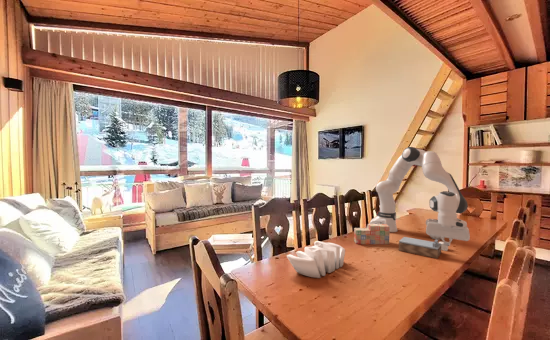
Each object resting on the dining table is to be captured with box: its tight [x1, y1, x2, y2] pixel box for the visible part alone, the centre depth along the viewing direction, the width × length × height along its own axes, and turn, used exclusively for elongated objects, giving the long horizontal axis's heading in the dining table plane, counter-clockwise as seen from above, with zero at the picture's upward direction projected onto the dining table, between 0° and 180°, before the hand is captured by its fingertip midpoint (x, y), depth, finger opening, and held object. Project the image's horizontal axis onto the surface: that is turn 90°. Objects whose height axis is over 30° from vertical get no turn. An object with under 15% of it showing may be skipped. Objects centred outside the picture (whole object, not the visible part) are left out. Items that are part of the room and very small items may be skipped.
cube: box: [438, 241, 449, 252], centre depth 152 cm, size 4×4×4 cm
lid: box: [398, 236, 441, 250], centre depth 149 cm, size 20×11×3 cm, turn 48°
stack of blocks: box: [353, 223, 391, 245], centre depth 167 cm, size 21×6×12 cm, turn 85°
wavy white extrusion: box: [286, 240, 346, 279], centre depth 130 cm, size 35×16×11 cm, turn 129°
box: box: [398, 241, 442, 260], centre depth 150 cm, size 20×12×5 cm, turn 48°
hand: (446, 245), depth 140 cm, fingers closed
